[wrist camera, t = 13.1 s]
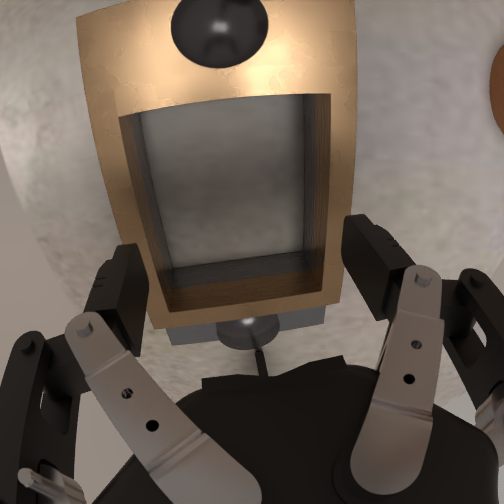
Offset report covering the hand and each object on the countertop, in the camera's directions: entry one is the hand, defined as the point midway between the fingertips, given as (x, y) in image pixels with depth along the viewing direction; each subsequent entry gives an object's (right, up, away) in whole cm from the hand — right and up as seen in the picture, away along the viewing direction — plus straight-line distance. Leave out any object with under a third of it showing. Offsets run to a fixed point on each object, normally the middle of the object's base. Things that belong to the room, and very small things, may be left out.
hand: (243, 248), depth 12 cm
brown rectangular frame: (-1, +5, +4) cm, 7 cm away
